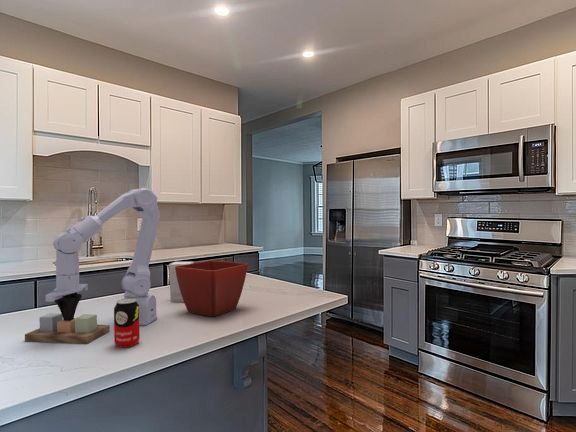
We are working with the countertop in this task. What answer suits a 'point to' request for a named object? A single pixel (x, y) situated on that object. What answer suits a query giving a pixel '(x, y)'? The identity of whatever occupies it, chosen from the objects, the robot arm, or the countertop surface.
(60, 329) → the terracotta block
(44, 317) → the slate block
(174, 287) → the skincare box
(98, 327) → the board
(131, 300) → the beverage can
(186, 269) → the plant pot
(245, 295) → the countertop surface
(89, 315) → the sage block
